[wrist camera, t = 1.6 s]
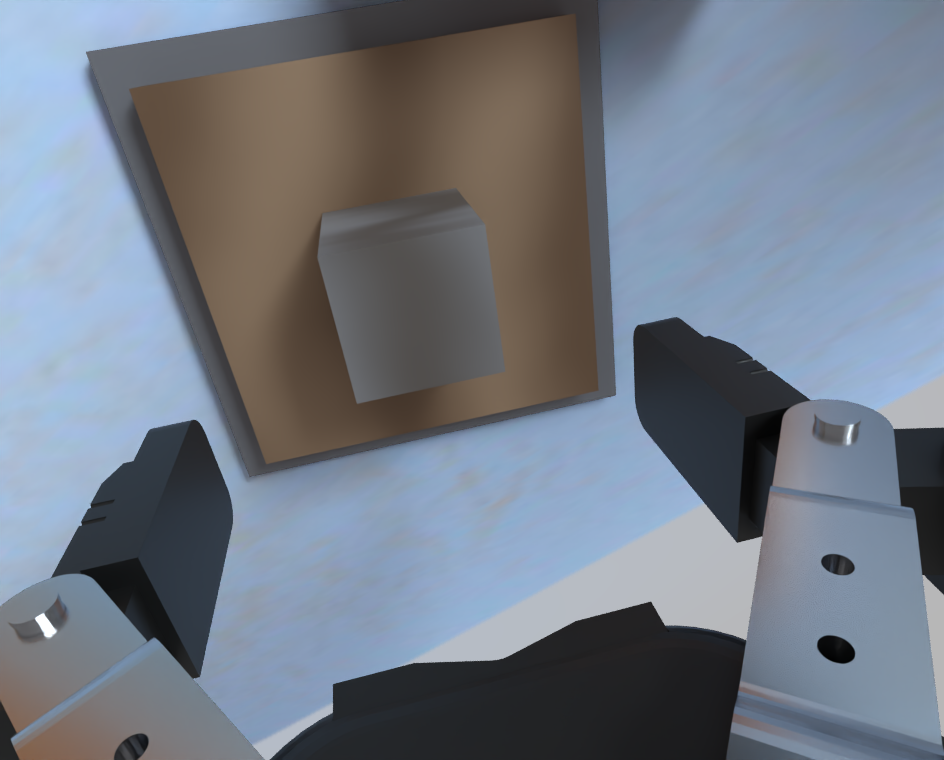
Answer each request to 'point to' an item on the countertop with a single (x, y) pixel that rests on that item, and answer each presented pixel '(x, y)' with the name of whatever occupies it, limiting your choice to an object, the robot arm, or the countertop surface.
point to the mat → (416, 17)
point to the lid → (388, 230)
